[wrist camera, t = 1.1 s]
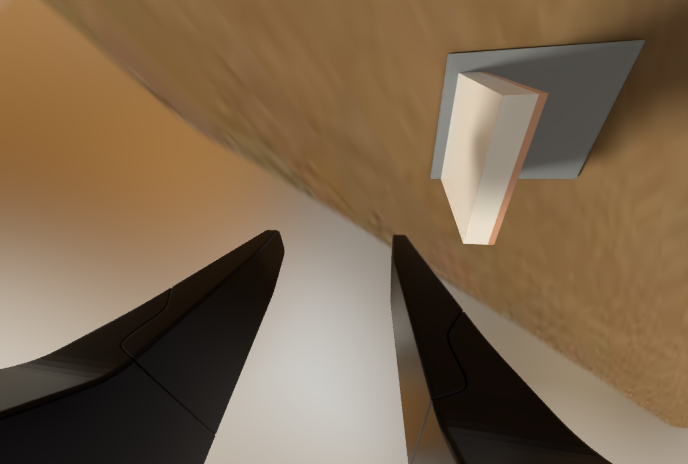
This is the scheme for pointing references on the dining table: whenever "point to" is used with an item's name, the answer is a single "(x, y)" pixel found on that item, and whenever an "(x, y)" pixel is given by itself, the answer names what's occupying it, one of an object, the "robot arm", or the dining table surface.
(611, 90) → the mat
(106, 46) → the dining table surface
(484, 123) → the tile
